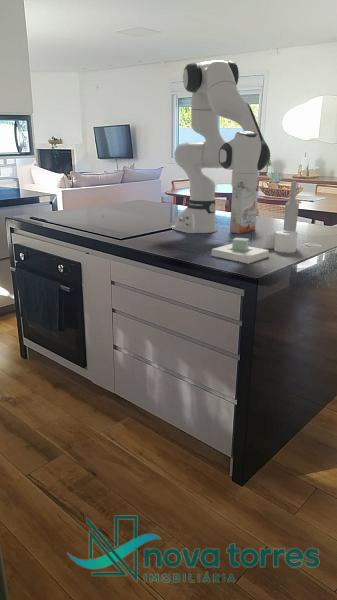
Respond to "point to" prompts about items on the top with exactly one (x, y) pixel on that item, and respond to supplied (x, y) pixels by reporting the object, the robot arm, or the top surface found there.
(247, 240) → the plug
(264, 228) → the top surface
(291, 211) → the bottle
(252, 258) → the socket plate
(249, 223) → the cracker box
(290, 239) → the toilet paper
